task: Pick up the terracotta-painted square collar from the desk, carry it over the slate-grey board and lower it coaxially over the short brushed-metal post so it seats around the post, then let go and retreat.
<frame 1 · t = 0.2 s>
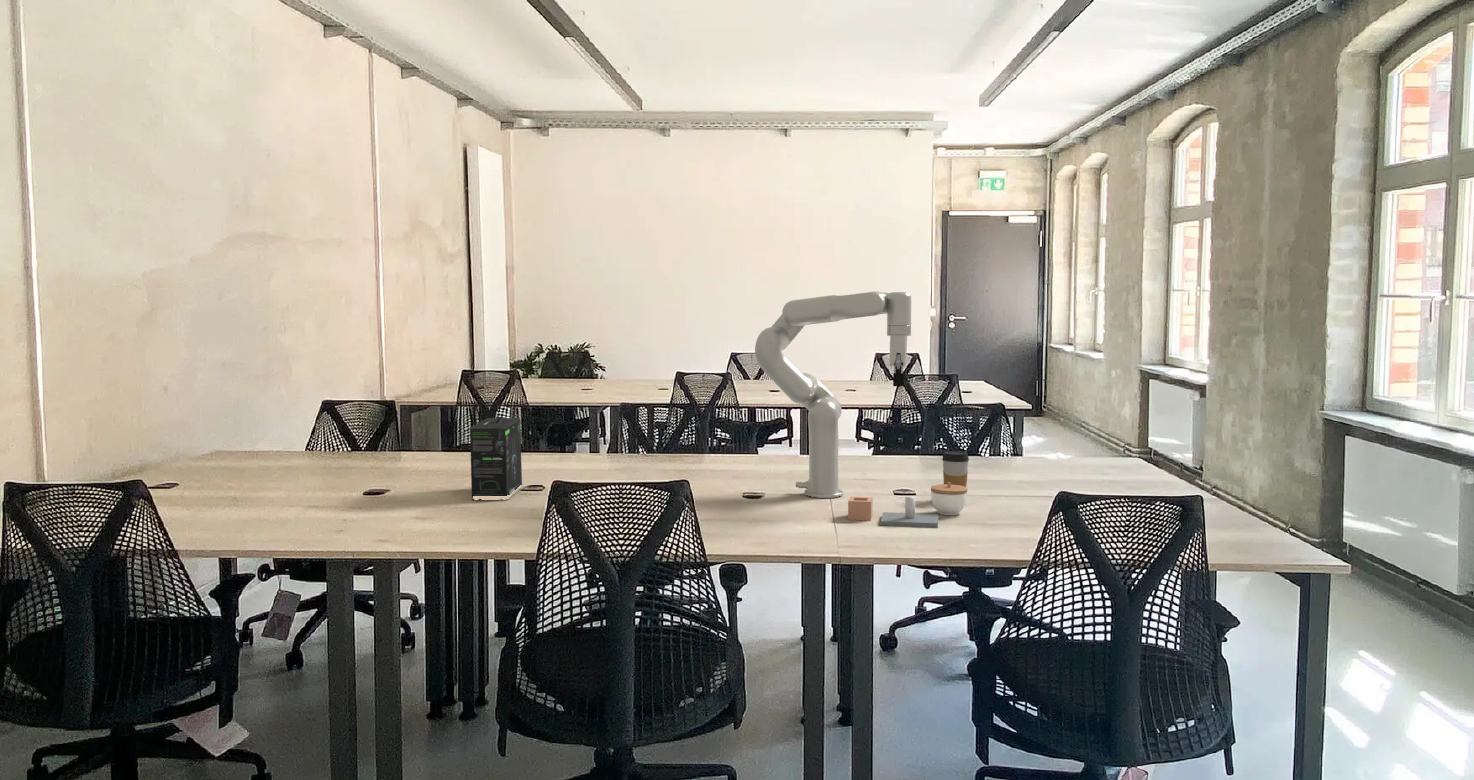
hand: (898, 384, 336), 36 cm above the table, tool pointing down, fingers open, 9 cm apart
lidded jar: (948, 513, 316), on the table
headset box: (497, 494, 349), on the table
coffee cup: (954, 499, 337), on the table
collar: (860, 517, 311), on the table
board: (909, 521, 305), on the table
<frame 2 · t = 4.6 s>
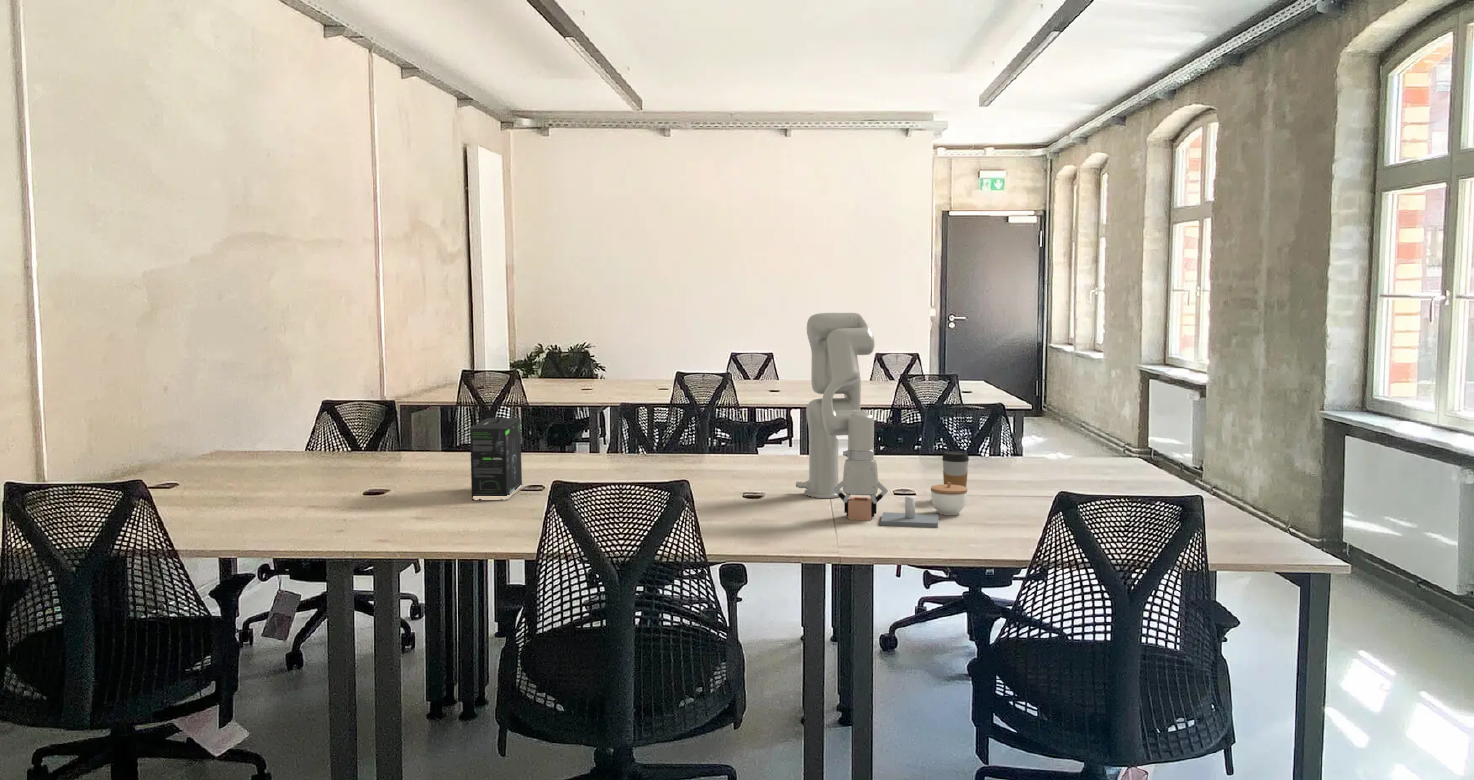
hand: (860, 515, 311), 1 cm above the table, tool pointing down, fingers closed on collar, 6 cm apart
collar: (860, 517, 311), on the table, touching gripper
everything else where it was.
when the fingers open (3 cm above the table, at t = 10.8 s): collar drops 1 cm, resting on board.
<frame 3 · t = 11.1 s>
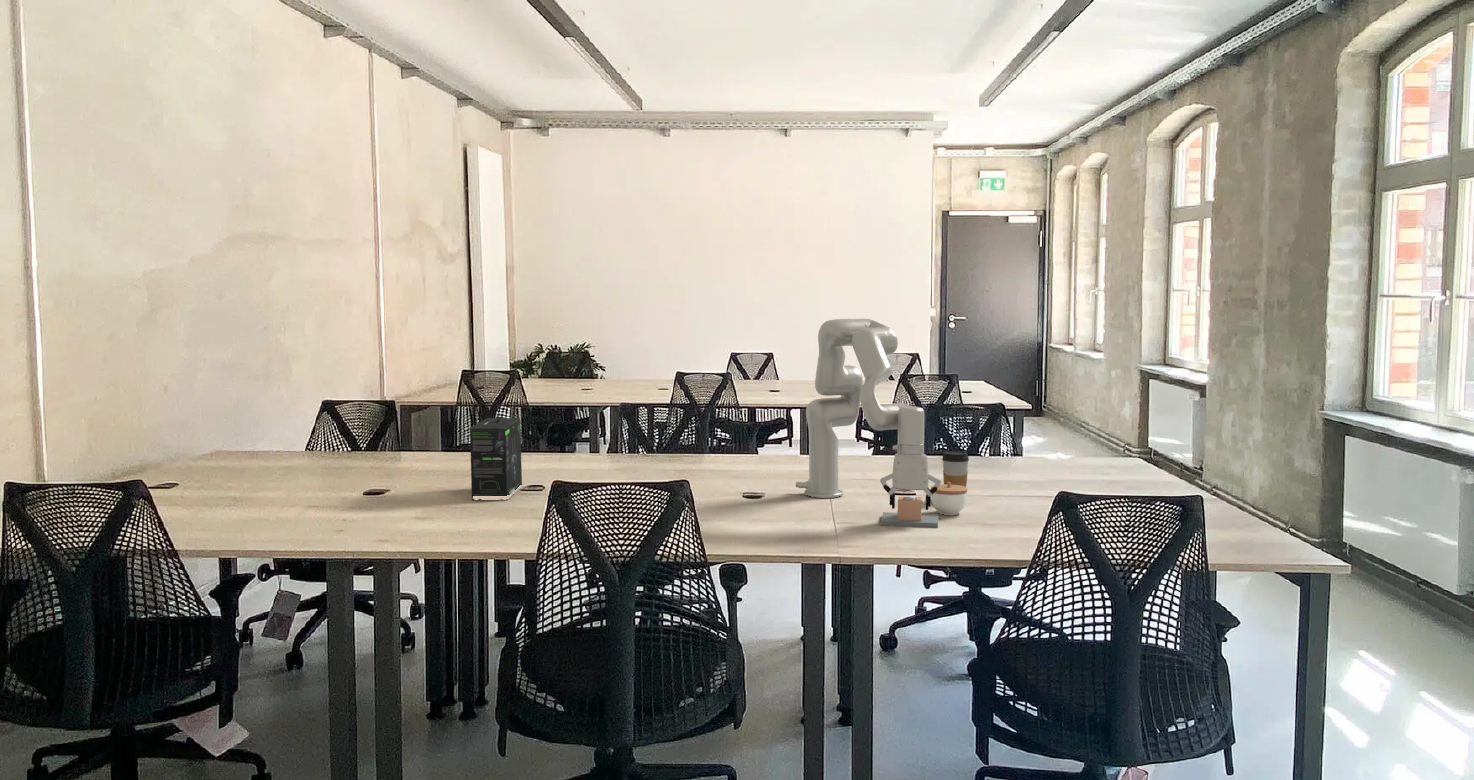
hand: (910, 508, 305), 4 cm above the table, tool pointing down, fingers open, 9 cm apart
collar: (909, 517, 305), point 1 cm above the table, touching board
everything else where it was.
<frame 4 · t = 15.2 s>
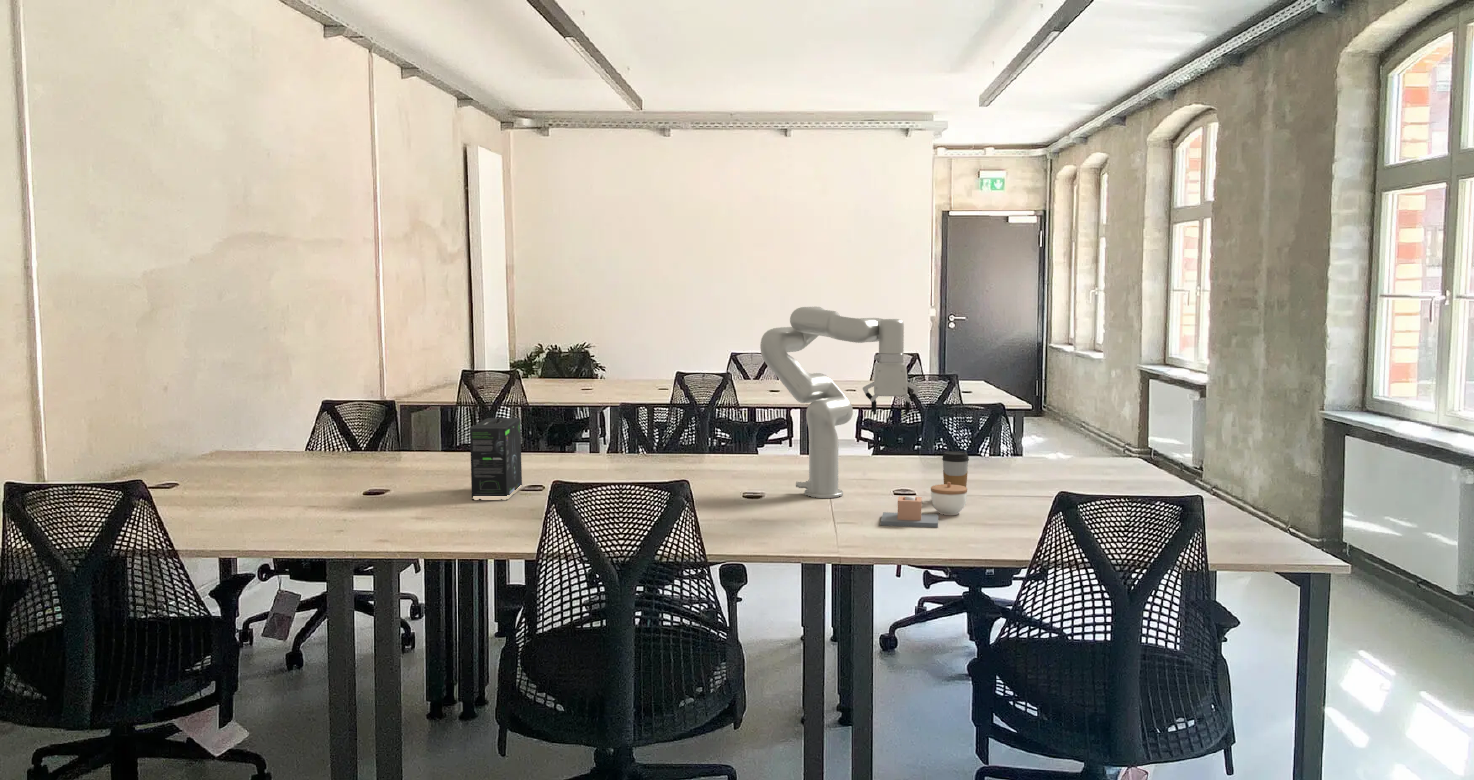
hand: (890, 414, 326), 28 cm above the table, tool pointing down, fingers open, 9 cm apart
nothing on the table moved.
at the end: collar 0.1 cm off-centre on the board, point 1.2 cm above the board's base; collar tilted 0°; the gripper is holding nothing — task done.
